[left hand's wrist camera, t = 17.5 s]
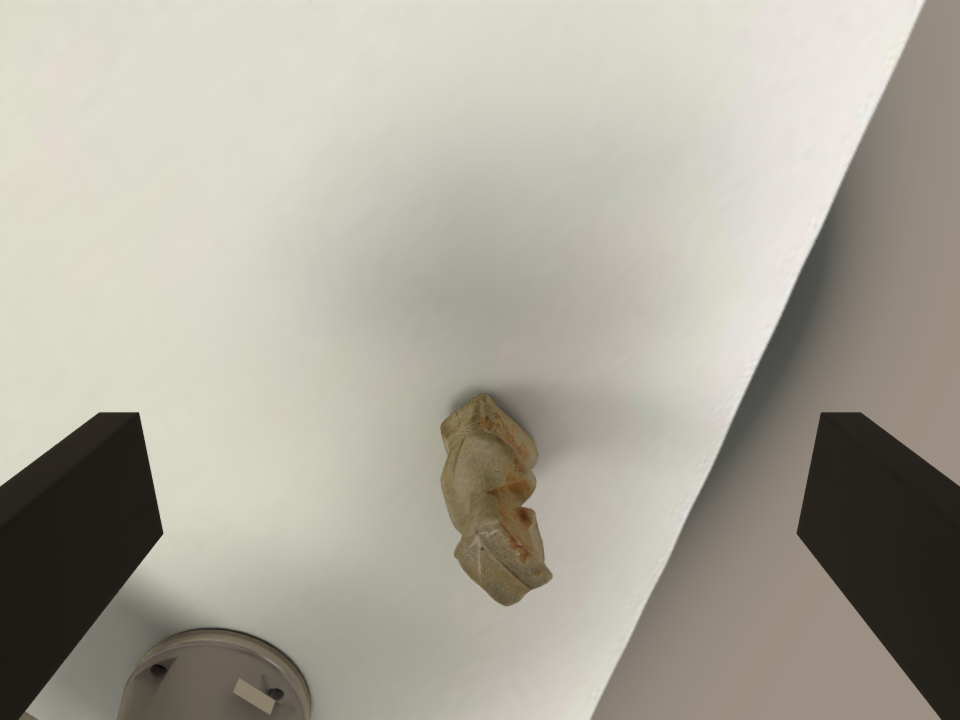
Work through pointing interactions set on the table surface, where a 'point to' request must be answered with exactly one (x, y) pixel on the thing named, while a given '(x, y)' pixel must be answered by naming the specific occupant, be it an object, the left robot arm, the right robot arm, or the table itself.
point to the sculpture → (493, 500)
